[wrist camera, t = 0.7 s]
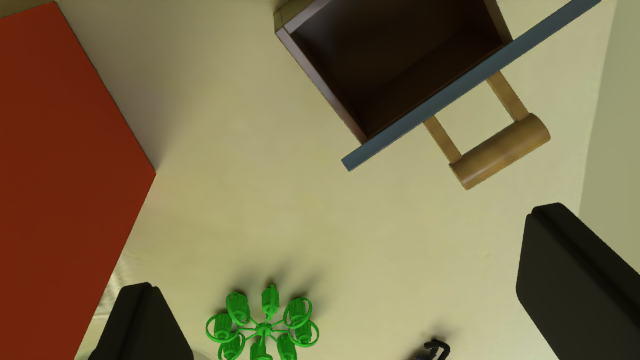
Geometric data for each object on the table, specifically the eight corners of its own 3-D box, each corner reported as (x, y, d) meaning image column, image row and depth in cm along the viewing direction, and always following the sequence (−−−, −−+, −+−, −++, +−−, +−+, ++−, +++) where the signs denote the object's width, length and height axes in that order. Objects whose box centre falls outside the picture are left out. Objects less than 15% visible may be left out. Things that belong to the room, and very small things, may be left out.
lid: (340, 160, 22) (397, 243, 22) (592, -15, 18) (660, 83, 18) (363, 148, 34) (399, 201, 34) (516, 43, 31) (556, 101, 31)
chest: (273, 13, 35) (274, 32, 29) (410, -102, 32) (447, -110, 25) (349, 114, 41) (365, 149, 35) (472, 26, 38) (516, 46, 31)
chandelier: (306, 354, 61) (310, 399, 55) (203, 349, 58) (196, 396, 52) (329, 282, 53) (337, 326, 47) (213, 272, 50) (205, 317, 44)
